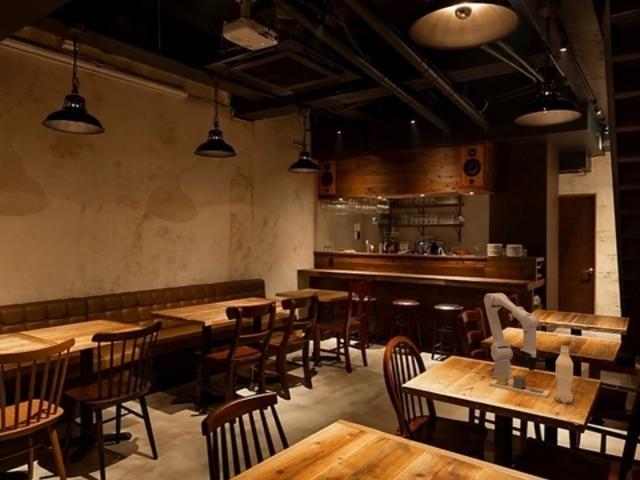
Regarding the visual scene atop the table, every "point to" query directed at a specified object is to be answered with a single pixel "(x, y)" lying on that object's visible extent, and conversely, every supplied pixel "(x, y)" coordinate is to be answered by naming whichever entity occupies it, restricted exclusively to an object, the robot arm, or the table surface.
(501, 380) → the brass block
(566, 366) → the water bottle
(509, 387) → the beige rectangular frame
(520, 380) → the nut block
